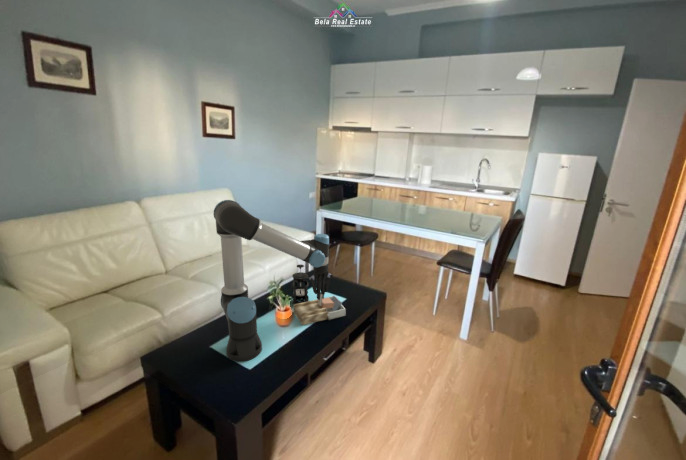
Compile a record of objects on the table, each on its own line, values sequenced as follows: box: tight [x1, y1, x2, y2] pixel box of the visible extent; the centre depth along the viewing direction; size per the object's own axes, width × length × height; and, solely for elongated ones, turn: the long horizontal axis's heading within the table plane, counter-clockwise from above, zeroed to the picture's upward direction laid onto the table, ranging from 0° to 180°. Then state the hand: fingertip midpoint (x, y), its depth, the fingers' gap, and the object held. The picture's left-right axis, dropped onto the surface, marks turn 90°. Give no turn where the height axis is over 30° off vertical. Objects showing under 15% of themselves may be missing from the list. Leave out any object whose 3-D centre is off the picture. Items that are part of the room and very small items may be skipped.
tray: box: [325, 295, 347, 321], centre depth 176 cm, size 10×16×4 cm, turn 27°
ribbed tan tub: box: [292, 298, 329, 326], centre depth 170 cm, size 14×14×6 cm
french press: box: [291, 264, 310, 306], centre depth 181 cm, size 12×9×23 cm
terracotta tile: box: [321, 297, 334, 308], centre depth 173 cm, size 6×6×3 cm
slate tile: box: [331, 295, 343, 311], centre depth 176 cm, size 6×6×3 cm
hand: (320, 304), depth 172 cm, fingers closed
